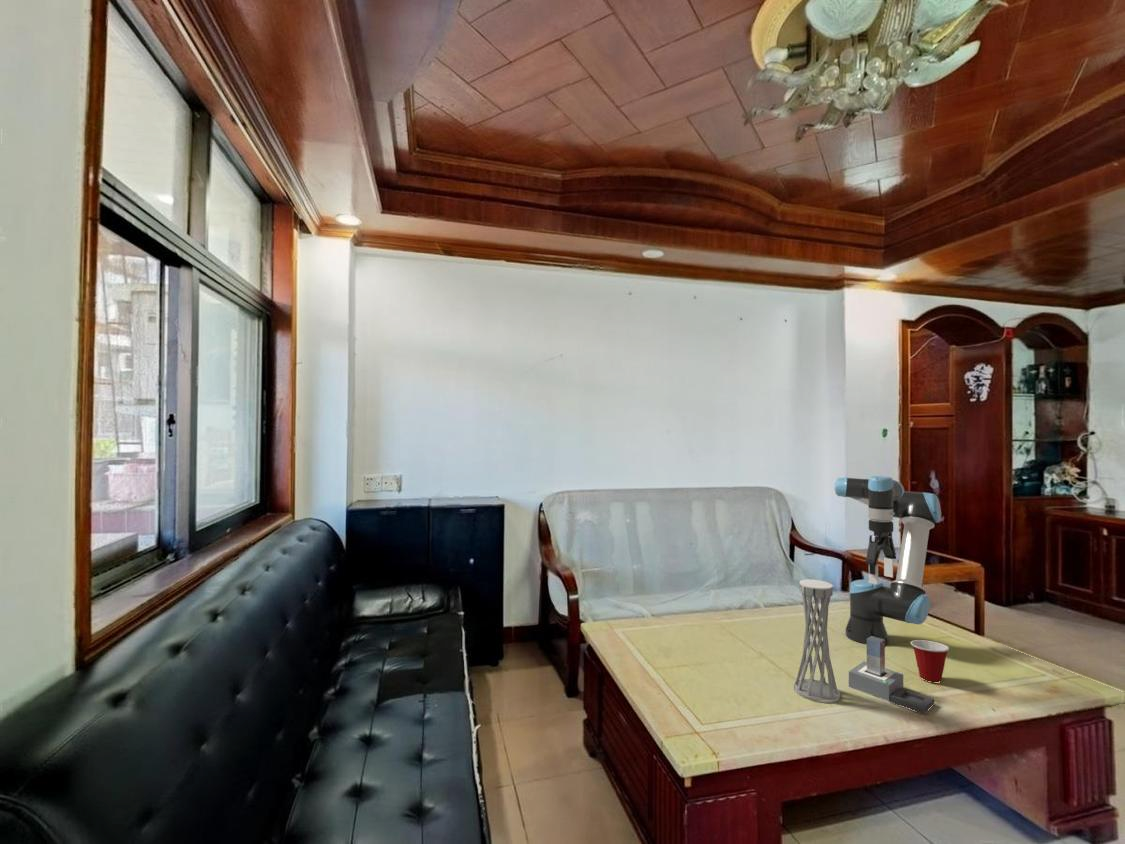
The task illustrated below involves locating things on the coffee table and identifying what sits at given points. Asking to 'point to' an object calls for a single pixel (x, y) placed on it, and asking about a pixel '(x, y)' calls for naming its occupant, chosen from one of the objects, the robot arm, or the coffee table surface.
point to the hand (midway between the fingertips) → (881, 580)
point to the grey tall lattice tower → (812, 687)
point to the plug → (876, 656)
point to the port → (875, 681)
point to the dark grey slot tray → (912, 700)
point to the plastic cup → (930, 659)
